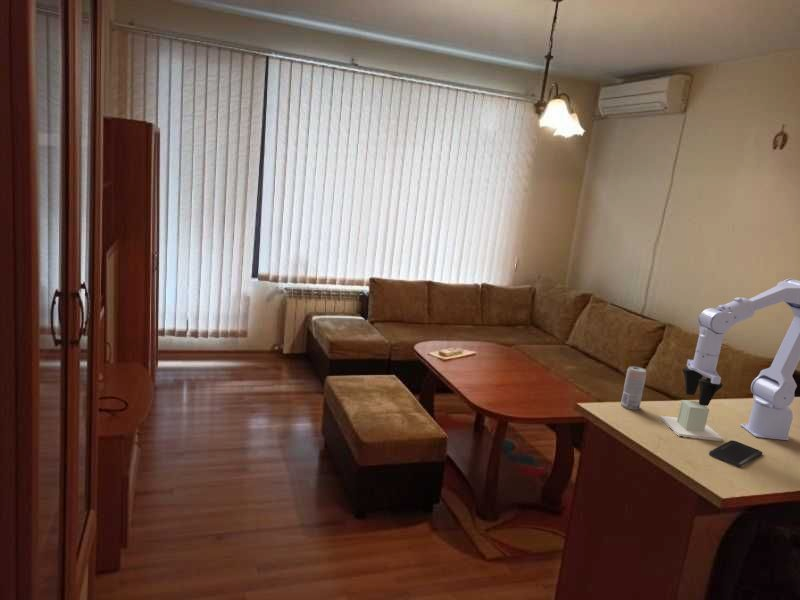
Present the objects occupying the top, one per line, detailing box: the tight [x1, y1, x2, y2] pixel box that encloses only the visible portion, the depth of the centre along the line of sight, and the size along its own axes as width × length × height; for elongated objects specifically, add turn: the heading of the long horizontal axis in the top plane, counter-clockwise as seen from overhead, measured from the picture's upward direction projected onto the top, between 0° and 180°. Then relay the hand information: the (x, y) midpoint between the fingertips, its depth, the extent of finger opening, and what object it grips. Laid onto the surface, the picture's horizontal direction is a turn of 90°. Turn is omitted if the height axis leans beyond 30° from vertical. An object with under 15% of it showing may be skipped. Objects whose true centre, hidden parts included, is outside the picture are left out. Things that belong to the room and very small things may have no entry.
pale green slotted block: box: [677, 399, 710, 432], centre depth 161 cm, size 5×5×7 cm
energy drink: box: [620, 365, 647, 411], centre depth 173 cm, size 5×5×12 cm
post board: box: [659, 415, 724, 442], centre depth 161 cm, size 12×12×5 cm
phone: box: [708, 440, 763, 469], centre depth 148 cm, size 8×1×15 cm
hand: (696, 399), depth 160 cm, fingers open, 7 cm apart
